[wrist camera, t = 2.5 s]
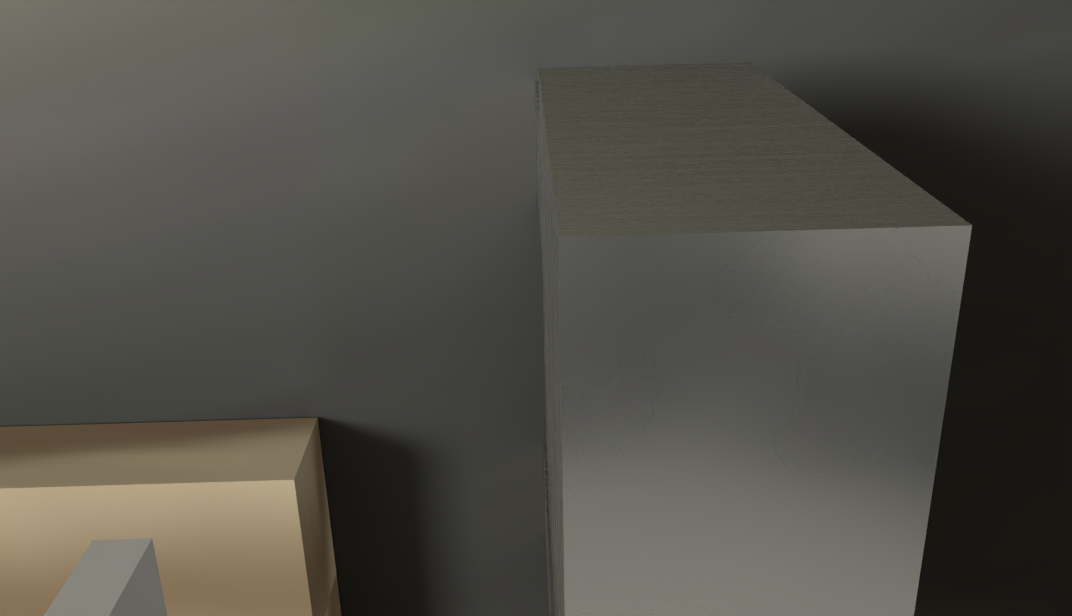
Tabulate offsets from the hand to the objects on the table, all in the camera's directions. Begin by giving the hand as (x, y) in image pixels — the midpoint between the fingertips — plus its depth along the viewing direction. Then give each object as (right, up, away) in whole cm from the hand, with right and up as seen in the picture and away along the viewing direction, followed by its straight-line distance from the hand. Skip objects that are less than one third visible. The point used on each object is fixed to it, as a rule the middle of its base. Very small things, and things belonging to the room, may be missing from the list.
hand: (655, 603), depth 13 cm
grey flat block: (0, +4, +8) cm, 9 cm away
